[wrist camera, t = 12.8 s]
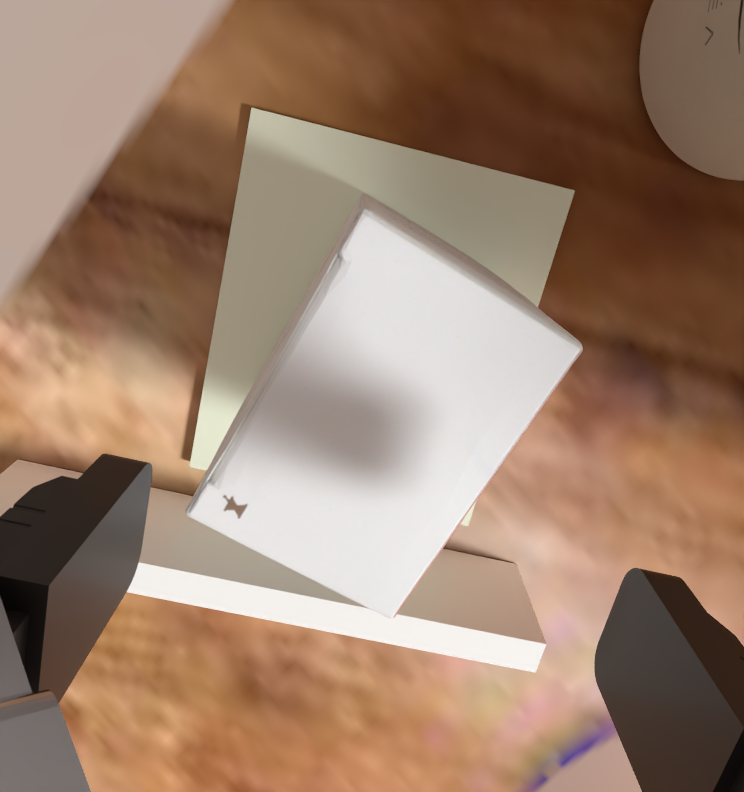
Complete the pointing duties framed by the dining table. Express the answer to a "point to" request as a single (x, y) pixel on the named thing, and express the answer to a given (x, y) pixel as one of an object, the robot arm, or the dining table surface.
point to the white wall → (314, 603)
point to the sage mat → (323, 220)
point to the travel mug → (697, 81)
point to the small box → (382, 411)
